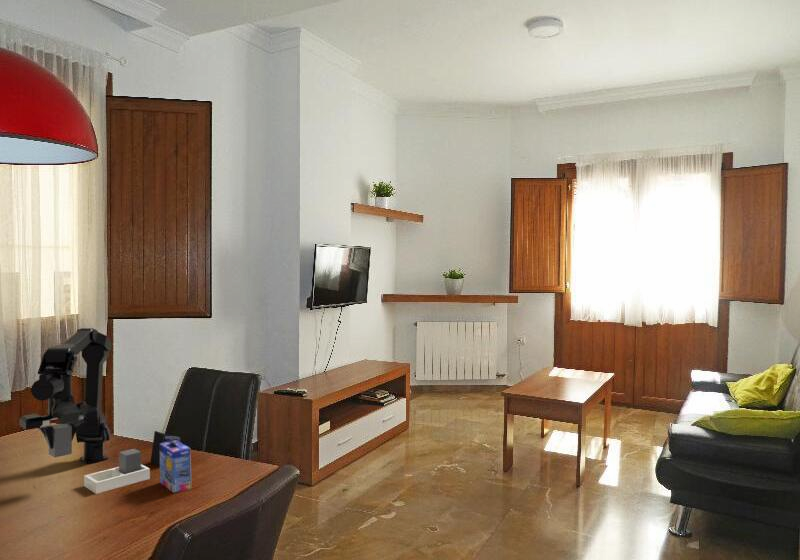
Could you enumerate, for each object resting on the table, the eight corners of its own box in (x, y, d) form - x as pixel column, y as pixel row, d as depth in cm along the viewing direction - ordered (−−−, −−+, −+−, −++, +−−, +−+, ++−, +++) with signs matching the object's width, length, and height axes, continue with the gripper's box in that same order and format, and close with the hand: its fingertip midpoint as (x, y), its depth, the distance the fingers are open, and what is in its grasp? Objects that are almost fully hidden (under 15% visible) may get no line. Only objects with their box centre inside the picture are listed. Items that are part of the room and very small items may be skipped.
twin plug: (119, 478, 173) (119, 452, 173) (133, 474, 176) (133, 448, 176) (125, 482, 170) (126, 455, 170) (140, 478, 174) (141, 451, 173)
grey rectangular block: (48, 453, 167) (48, 425, 166) (65, 450, 170) (65, 422, 170) (54, 457, 164) (54, 429, 163) (71, 453, 167) (71, 425, 167)
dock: (84, 487, 167) (84, 475, 167) (137, 473, 179) (137, 462, 179) (96, 495, 162) (96, 482, 162) (149, 480, 174) (149, 468, 174)
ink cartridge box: (158, 484, 171) (158, 435, 170) (176, 479, 175) (177, 431, 174) (172, 494, 164) (172, 443, 163) (191, 489, 168) (192, 439, 167)
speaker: (154, 468, 183) (157, 434, 183) (150, 464, 187) (153, 431, 188) (179, 466, 187) (182, 433, 187) (174, 462, 192) (177, 429, 192)
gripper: (33, 402, 154) (33, 461, 154) (106, 391, 168) (106, 445, 169) (18, 395, 161) (18, 452, 162) (90, 385, 175) (90, 437, 176)
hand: (60, 446), depth 167 cm, fingers closed on grey rectangular block, 4 cm apart
